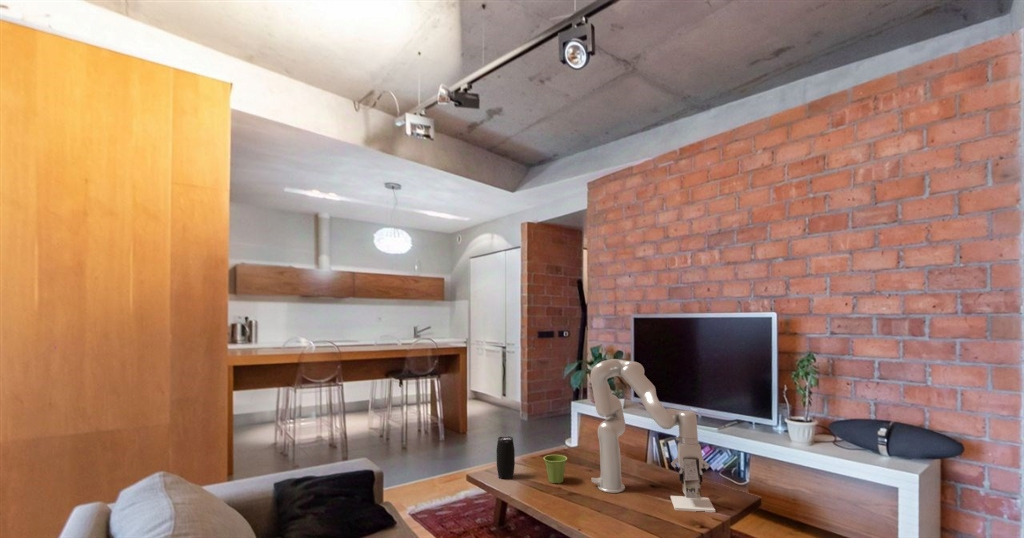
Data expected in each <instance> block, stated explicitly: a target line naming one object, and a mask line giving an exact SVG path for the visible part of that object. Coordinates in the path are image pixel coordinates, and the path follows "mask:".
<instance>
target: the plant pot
mask: <svg viewBox="0 0 1024 538" xmlns="http://www.w3.org/2000/svg"><path fill="white" fill-rule="evenodd" d="M543 460H544V464H545V467H546V473H547V478H548V482H549V483H550V484H557V483H558V484H562V483H563V482H564V478H565V477H564V476H565V467H566V462H567V460H568V457H567V456H566V455H562V454H548V455H545V456H543Z"/></svg>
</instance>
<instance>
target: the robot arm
mask: <svg viewBox="0 0 1024 538" xmlns="http://www.w3.org/2000/svg"><path fill="white" fill-rule="evenodd" d="M614 377H620V378H623V379H624V381H625V382H626V383H627V384H628V385H629V386H630V387H631V389H632V390H633V391H634V392H635V393H636V395H637V396H638V397H639V398H640V400H641V402H642V404H643V406H644V408H645V410H646V411H647V413H648V415H649V416H650V418H651V419H652V420H653V421H654V422H655V423H656V425H658V426H659V427H660V428H661V429H664V430H671V429H672V428H674V427H676V426H678V436H677V437H676V436H675V440H676V441H678V443H677V450H676V451H677V453H676V455H677V456H676V458H675V459H673V461H672V462H670V464H671V467H673V468H674V469H675V471H677V472H678V475H679V478H678V479H679V481H680V482H681V485H682V484H683V483H684V477H683V468H684V465H683V458H698V459H699V469H700V486H701V485H702V483H703V475H704V473H706V471H707V470H708V469H709V468H710V467H711V466H710V464H709V463H708V462H706V461H705V460H704V459H703V453H702V447H701V444H700V443H699V437H698V424H697V423H698V422H697V414H696V413H695V412H694V411H692V410H680V409H676V408H667V409H666V408H665V407H664V406H663V404H662V403H661V402H660V400H659V398H658V396H657V391H656V390H657V389H656V386H655V385H654V384H653V382H652V381H650V379H648V378H647V376H646V375H645V368H644V366H643V364H641V362H640V363H639V362H637V361H633V360H632V361H631V360H625V359H620V358H619V359H618V358H611V359H605V360H602V361H600V362H598V363H597V364H595V365H594V366H593V367H592V369H591V371H590V377H589V378H590V384H591V388H592V394H593V399H594V405H595V411H596V413H597V414H598V416H599V417H601V418H605V420H603V421H601V422H600V423H599V425H598V426H597V437H598V443H599V458H600V460H599V461H600V475H599V477H591V482H592V483H593V484H595V485H596V484H597V488H598V490H599V491H602V492H605V493H610V494H618V493H622V492H624V491H625V489H626V487H625V484H624V483H622V465H621V447H620V443H619V437H621V436H622V435H623V434H624V433H625V430H626V422H625V421H626V420H625V416H624V410H623V406H622V402H621V400H620V399H619V397H617V395H615V394H613V393H612V392H611V387H610V384H609V382H608V379H611V378H614ZM676 464H677V465H678V466H677V465H676Z"/></svg>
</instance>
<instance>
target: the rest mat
mask: <svg viewBox="0 0 1024 538" xmlns="http://www.w3.org/2000/svg"><path fill="white" fill-rule="evenodd" d="M670 500H671V502H672V505H673V508H674V509H673V510H675V511H683V512H696V511H705V512H704V513H712V512H715V513H716V509H715V507H714V505H713V504H712V502H711V500H710V498H709V497H704V496H703V497H702V496H701V499H697V498H686V496H685V495H683V496H682V495H670Z"/></svg>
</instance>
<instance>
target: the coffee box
mask: <svg viewBox="0 0 1024 538" xmlns="http://www.w3.org/2000/svg"><path fill="white" fill-rule="evenodd" d="M683 465H684V468H683V477H684V483H683V484H682V483H681V485H682V492H683V494H684V496H686V498H697V499H701V497H702V493H701V492H702V491H701V485H700V469H699V459H698V458H683Z"/></svg>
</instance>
